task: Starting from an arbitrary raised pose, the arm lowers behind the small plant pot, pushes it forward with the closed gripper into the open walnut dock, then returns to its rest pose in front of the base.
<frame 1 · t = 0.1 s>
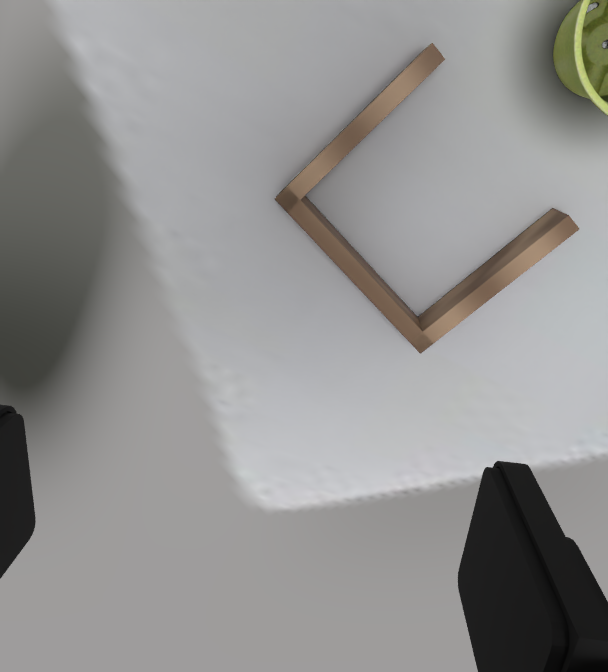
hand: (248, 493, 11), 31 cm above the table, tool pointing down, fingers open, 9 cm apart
dock: (420, 206, 39), on the table
plant pot: (599, 46, 35), on the table
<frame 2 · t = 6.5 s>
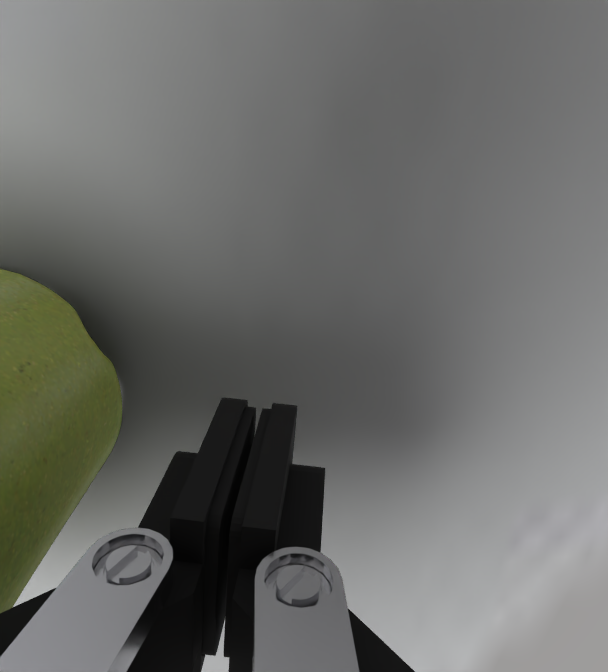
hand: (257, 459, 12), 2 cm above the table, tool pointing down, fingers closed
plant pot: (18, 375, 14), on the table, touching gripper
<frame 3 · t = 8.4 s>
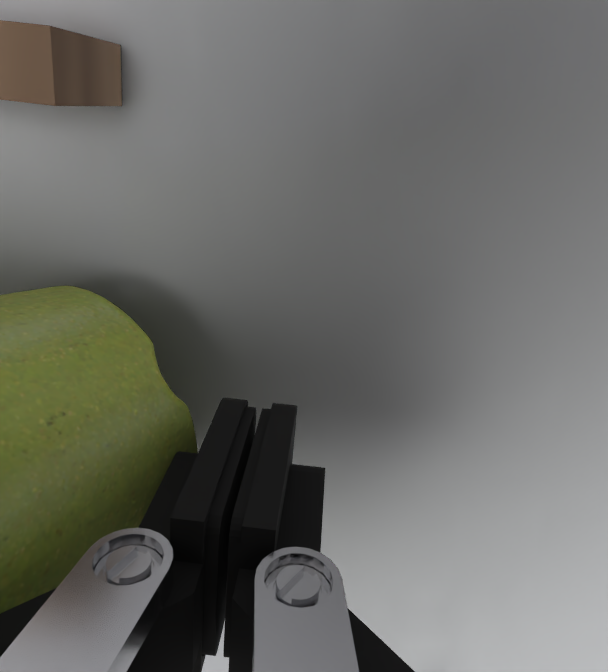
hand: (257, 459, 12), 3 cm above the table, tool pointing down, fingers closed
plant pot: (113, 398, 14), point 1 cm above the table, touching gripper
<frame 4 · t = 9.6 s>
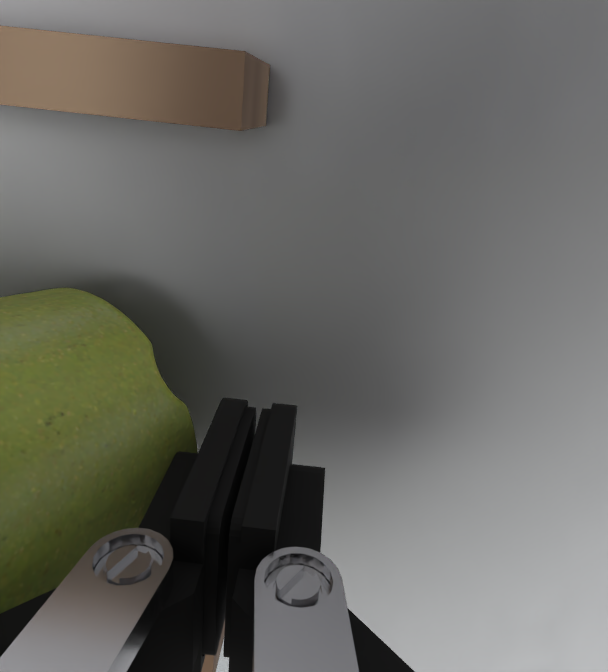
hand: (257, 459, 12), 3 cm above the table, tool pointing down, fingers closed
dock: (2, 351, 15), on the table
plant pot: (114, 400, 14), point 1 cm above the table, touching gripper
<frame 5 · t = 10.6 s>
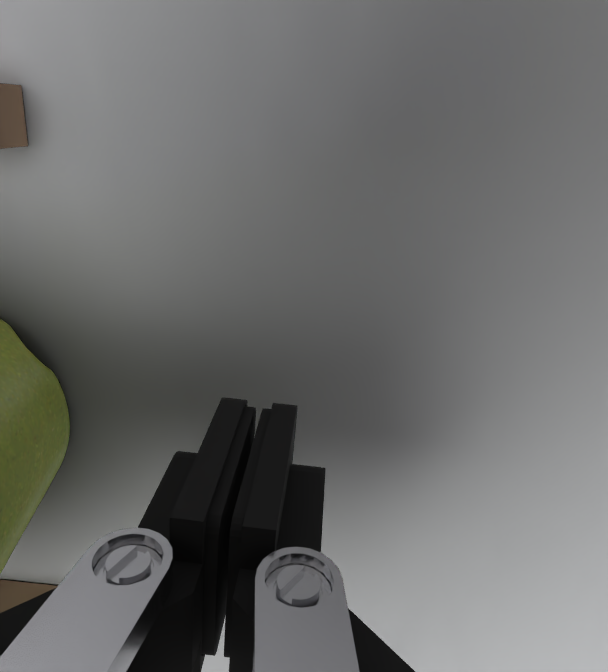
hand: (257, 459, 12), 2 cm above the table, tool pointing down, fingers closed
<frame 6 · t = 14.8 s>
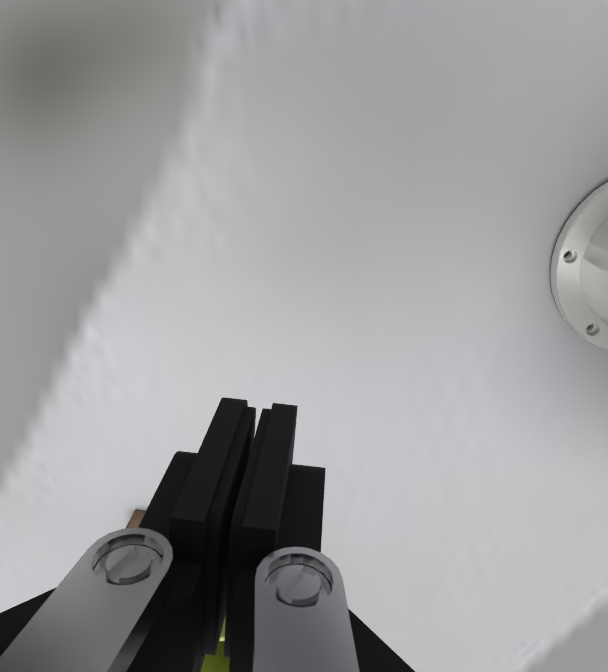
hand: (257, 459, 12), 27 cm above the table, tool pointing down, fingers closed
plant pot: (253, 591, 50), on the table
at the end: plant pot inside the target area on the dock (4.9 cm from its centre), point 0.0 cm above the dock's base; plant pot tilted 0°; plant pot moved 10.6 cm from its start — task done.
